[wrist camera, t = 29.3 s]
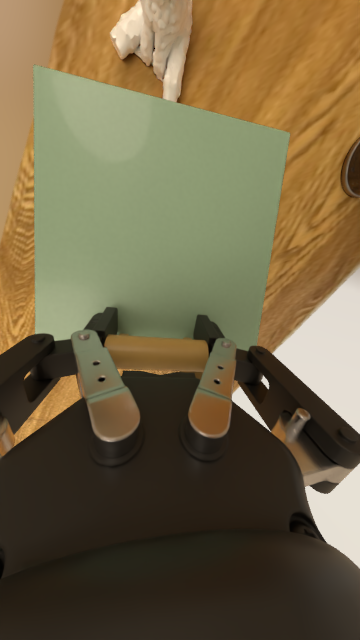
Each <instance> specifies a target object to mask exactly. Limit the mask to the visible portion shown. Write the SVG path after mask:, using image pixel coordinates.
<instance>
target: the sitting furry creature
mask: <svg viewBox="0 0 360 640" xmlns="http://www.w3.org/2000/svg"><path fill="white" fill-rule="evenodd" d="M191 13H192V0H138V2H137V3H136V4H135V7H132V8H131V9H130V10H129V11H127V12H126V13H123V14H122V15H121V17H120V20H119V21H118V22H117V25H116V26H115V27H114V28H113V29H112V31H111V32H110V37H111V40H112V43H113V45H114V47H115V49H116V51H117V52H118V55H119V57H120V58H121V59H124V58H126V57H127V55H128V54H129V53H131V54H132V53H133V52H134V53H135V54H136V55H137V56H138V57H140V58H141V59H142V61H143V62H145V63H146V66H150V64H152V65H153V70H154V74H156V75H157V79H159V80H161V81H162V82H163V90H164V91H163V99H166V100H169V101H173V102H177V99H178V97H179V96H180V92H181V86H182V84H181V80H182V76H183V73H184V63H185V61H186V53H187V49H188V44H189V40H190V38H189V36H190V34H191V32H192V31H191V26H192V24H193V22H192V14H191ZM154 42H155V43H154ZM139 44H140V47H139V46H138V45H139ZM154 46H155V51H153V48H154ZM152 59H153V62H152ZM166 67H167V69H166ZM163 78H164V79H163Z"/></svg>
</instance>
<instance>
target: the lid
mask: <svg viewBox="0 0 360 640" xmlns="http://www.w3.org/2000/svg"><path fill="white" fill-rule="evenodd" d="M33 66H34V67H33V72H34V74H33V76H34V232H35V334H40V333H47V334H51V335H53V336H54V341H58V340H67V339H71V335H72V334H73V333H74V332H76V331H79V330H83V329H84V328H85V326H86V325H87V324H88V323H89V321H90V320H91V318H92V317H93V315H95V314H97V313H103V312H104V310H105V309H106V307H115V308H117V309H118V331H117V335H111V334H109V335H108V336H107V337H106V340H105V343H104V347H107V349H108V351H109V353H110V355H111V357H112V359H113V361H114V364H115V366H116V368H117V369H134V370H164V371H194V372H204V369H205V366H206V364H207V361H208V358H209V351H208V345H207V342H206V341H205V340H194V338H193V334H194V328H195V323H196V318H197V315H207V316H208V318H209V319H210V321H213V322H214V323H216V324H217V325H218V327H219V329H220V330H221V332H222V333H223V335H224V336H225V338H227V339H230V340H232V341H233V342H235V343H236V345H237V348H238V349H241V350H246V351H248V350H249V347H250V346H257V340H258V334H259V327H260V321H261V315H262V309H263V302H264V296H265V290H266V283H267V277H268V271H269V265H270V258H271V252H272V246H273V239H274V233H275V227H276V220H277V214H278V208H279V202H280V195H281V189H282V183H283V176H284V170H285V164H286V157H287V151H288V145H289V139H290V133H289V132H285V131H282V130H278V129H274V128H270V127H267V126H263V125H259V124H255V123H252V122H248V121H244V120H241V119H237V118H233V117H229V116H226V115H222V114H218V113H214V112H211V111H207V110H203V109H199V108H196V107H192V106H188V105H184V104H181V103H177V102H173V101H169V100H166V99H162V98H158V97H154V96H151V95H147V94H143V93H139V92H136V91H132V90H128V89H124V88H121V87H117V86H113V85H109V84H106V83H102V82H98V81H94V80H91V79H87V78H83V77H79V76H76V75H72V74H68V73H65V72H61V71H57V70H53V69H50V68H45V67H42V66H38V65H33Z"/></svg>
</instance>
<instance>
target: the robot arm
mask: <svg viewBox="0 0 360 640" xmlns="http://www.w3.org/2000/svg"><path fill="white" fill-rule="evenodd" d="M341 181H342V186H343V189H344V191H345V192H346V193H347V194H348V195H349V196H351V197H355V198H360V138H359V139H358V140H357V141H356V142H355V143H354V145H353V146H352V147H351V149H350V151H349V152H348V154H347V156H346V158H345V161H344V164H343V168H342V174H341ZM117 331H118V309H117V308H115V307H106V309H105V310H104V312H103V313H97V314H95V315H93V317H92V318H91V320H90V321H89V323H88V324H87V325H86V326H85V328H84V329H83V330H79V331H76V332H74V333H73V334H72V335H71V339H67V340H58V341H54V336H53V335H51V334H47V333H40V334H34V335H31V336H28V337H26V338H25V339H23V340H22V341H20V342H19V343H17V344H16V345H14V346H13V347H11V348H10V349H9V350H7V351H6V352H4V353H3V354H1V355H0V640H360V569H359V568H358V567H357V566H356V565H355V564H354V563H353V562H352V561H351V560H350V559H349V558H348V557H347V556H345V555H344V554H343V553H341V552H340V551H339V550H337V549H336V548H334V547H332V546H331V545H329V544H327V543H326V541H325V540H324V538H323V537H322V535H321V533H320V532H319V530H318V528H317V526H316V524H315V521H314V519H313V516H312V513H311V511H310V507H309V504H308V501H307V497H306V493H305V487H306V486H311V487H312V488H313V489H315V490H316V491H318V492H320V493H324V494H326V493H327V494H328V493H330V492H331V491H332V490H333V489H334V488H335V487H336V486H337V485H338V484H339V483H340V482H341V481H342V480H343V479H344V478H345V477H346V476H347V475H348V474H349V473H350V472H351V471H352V470H353V469H354V468H355V467H356V466H357V465H358V464H359V463H360V434H359V433H358V432H357V431H355V430H354V429H353V428H352V427H351V426H350V425H349V424H348V423H347V422H346V421H345V420H343V419H342V418H341V417H340V416H339V415H338V414H337V413H336V412H335V411H334V410H332V409H331V408H330V407H329V406H328V405H327V404H326V403H325V402H324V401H323V400H322V399H321V398H319V397H318V396H317V395H316V394H315V393H314V392H313V391H312V390H311V389H310V388H309V387H307V386H306V385H305V384H304V383H303V382H302V381H301V380H300V379H299V378H298V377H297V376H295V375H294V374H293V373H292V372H291V371H290V370H289V369H288V368H287V367H286V366H285V365H283V364H282V363H281V362H280V361H279V360H278V359H277V358H276V357H275V356H274V355H273V354H271V353H270V352H269V351H268V350H267V349H265V348H263V347H260V346H250V347H249V350H248V351H246V350H241V349H238V348H237V345H236V343H235V342H233V341H232V340H230V339H227V338H225V336H224V335H223V333H222V332H221V330H220V329H219V327H218V325H217V324H216V323H214V322H213V321H210V319H209V318H208V316H207V315H197V318H196V323H195V328H194V334H193V338H194V340H205V341H206V342H207V345H208V351H209V358H208V361H207V364H206V366H205V369H204V372H203V375H202V377H201V379H198V378H196V376H195V373H189V372H176V373H170V374H164V375H157V374H153V373H148V372H143V371H123V374H122V376H120V374H119V372H118V370H117V368H116V366H115V364H114V361H113V359H112V357H111V355H110V353H109V351H108V349H107V347H104V343H105V340H106V337H107V336H108V335H109V334H111V335H117ZM29 371H30V372H31V374H30V375H29V376H28V377H27V378H26V379H25V380H24V377H25V376H26V374H27V373H28V372H29ZM75 374H76V378H77V383H78V388H79V393H80V400H78V401H77V402H75V403H74V404H73V405H71V406H70V407H69V408H67V409H66V410H64V411H63V412H62V413H60V414H59V415H57V416H56V417H55V418H53V419H52V420H50V421H49V422H48V423H46V424H45V425H44V426H42V427H41V428H39V429H38V430H37V431H35V432H34V433H32V434H31V435H30V436H28V437H27V438H25V439H24V440H23V441H21V442H20V443H19V444H17V445H16V446H14V443H15V437H14V434H15V433H16V432H17V431H18V430H19V428H20V427H21V426H22V425H23V424H24V422H25V421H26V420H27V419H28V417H29V416H30V415H31V414H32V413H33V411H34V410H35V409H36V408H37V407H38V405H39V404H40V403H41V402H42V401H43V399H44V398H45V397H46V396H47V395H48V393H49V392H50V391H51V390H52V389H53V387H54V386H55V385H56V384H57V382H58V381H59V380H60V378H61V377H64V376H70V375H75ZM263 375H264V377H265V378H266V379H267V380H268V382H269V390H268V389H267V387H266V386H265V385H264V384H263V383H262V382H261V379H262V377H263ZM23 380H24V381H23ZM234 380H236V381H238V384H239V385H240V387H241V388H242V389H243V391H244V392H245V394H246V395H247V396H248V398H249V400H250V401H251V403H252V404H253V406H254V407H255V409H256V410H257V411H258V413H259V415H260V416H261V417H262V419H263V420H264V422H265V423H266V425H267V426H268V428H269V429H270V431H271V432H270V431H269V430H267V429H266V428H265V427H264V426H263V425H261V424H260V423H259V422H258V421H256V420H255V419H254V418H253V417H251V416H250V415H249V414H247V413H246V412H245V411H244V410H243V409H241V408H240V407H239V406H238V405H236V404H235V403H234V402H233V401H232V391H233V383H234ZM13 446H14V447H13Z"/></svg>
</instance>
